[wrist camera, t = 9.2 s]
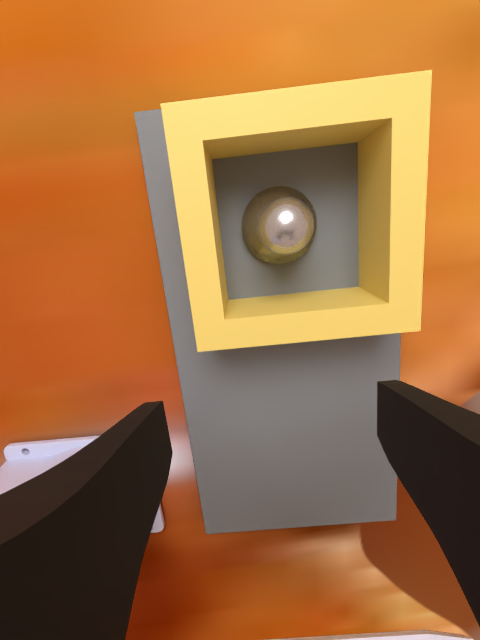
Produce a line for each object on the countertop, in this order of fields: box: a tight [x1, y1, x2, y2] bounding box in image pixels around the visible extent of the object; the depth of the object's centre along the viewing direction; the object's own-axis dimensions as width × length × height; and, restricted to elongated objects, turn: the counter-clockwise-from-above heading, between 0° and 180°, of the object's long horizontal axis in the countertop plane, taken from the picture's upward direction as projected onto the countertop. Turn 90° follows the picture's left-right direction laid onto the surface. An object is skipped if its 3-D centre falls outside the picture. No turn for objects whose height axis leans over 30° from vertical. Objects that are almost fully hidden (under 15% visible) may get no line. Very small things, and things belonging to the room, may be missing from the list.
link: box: [161, 70, 432, 352], centre depth 16 cm, size 10×10×4 cm
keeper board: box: [134, 109, 401, 534], centre depth 20 cm, size 13×26×1 cm, turn 6°
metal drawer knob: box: [242, 186, 317, 264], centre depth 15 cm, size 4×4×4 cm
